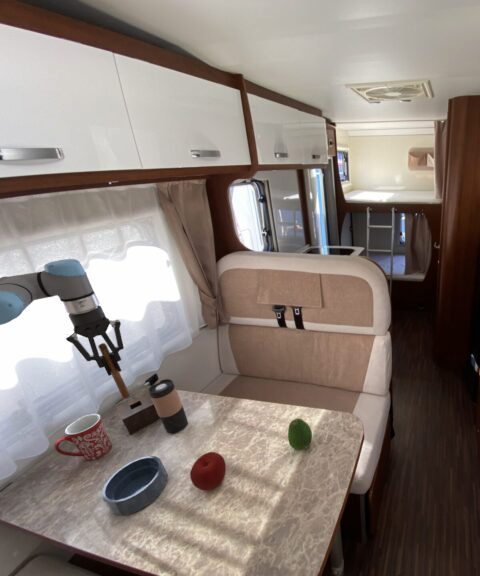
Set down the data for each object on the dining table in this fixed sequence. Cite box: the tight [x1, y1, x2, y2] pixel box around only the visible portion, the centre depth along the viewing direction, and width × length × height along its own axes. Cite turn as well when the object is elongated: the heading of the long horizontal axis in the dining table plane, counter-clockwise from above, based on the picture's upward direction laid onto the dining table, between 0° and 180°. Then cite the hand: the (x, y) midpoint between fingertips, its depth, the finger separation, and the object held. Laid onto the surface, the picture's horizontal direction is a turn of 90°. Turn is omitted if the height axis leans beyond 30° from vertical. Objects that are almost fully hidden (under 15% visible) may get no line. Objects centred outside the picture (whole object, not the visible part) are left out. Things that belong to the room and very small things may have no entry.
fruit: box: [287, 418, 313, 451], centre depth 104 cm, size 8×8×12 cm
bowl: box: [101, 455, 169, 516], centre depth 93 cm, size 15×15×6 cm
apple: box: [189, 451, 227, 491], centre depth 94 cm, size 10×10×10 cm
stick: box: [97, 342, 131, 400], centre depth 102 cm, size 2×2×22 cm
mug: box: [54, 413, 112, 461], centre depth 104 cm, size 13×9×14 cm
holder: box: [116, 391, 161, 436], centre depth 119 cm, size 10×10×8 cm
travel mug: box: [147, 378, 189, 435], centre depth 113 cm, size 8×8×20 cm
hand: (114, 371), depth 101 cm, fingers closed on stick, 2 cm apart
